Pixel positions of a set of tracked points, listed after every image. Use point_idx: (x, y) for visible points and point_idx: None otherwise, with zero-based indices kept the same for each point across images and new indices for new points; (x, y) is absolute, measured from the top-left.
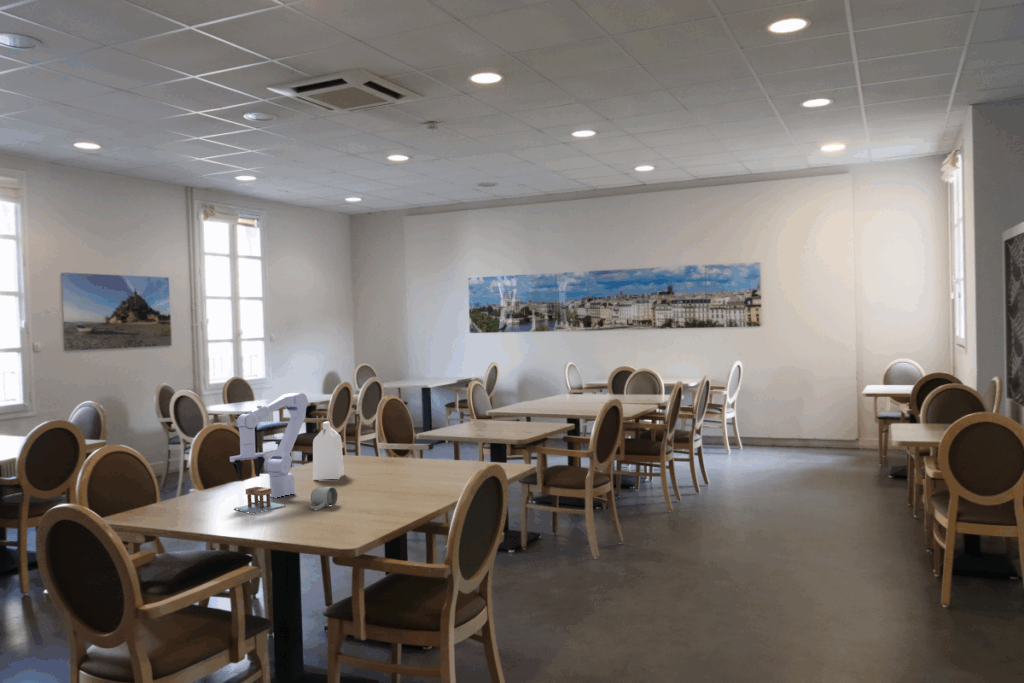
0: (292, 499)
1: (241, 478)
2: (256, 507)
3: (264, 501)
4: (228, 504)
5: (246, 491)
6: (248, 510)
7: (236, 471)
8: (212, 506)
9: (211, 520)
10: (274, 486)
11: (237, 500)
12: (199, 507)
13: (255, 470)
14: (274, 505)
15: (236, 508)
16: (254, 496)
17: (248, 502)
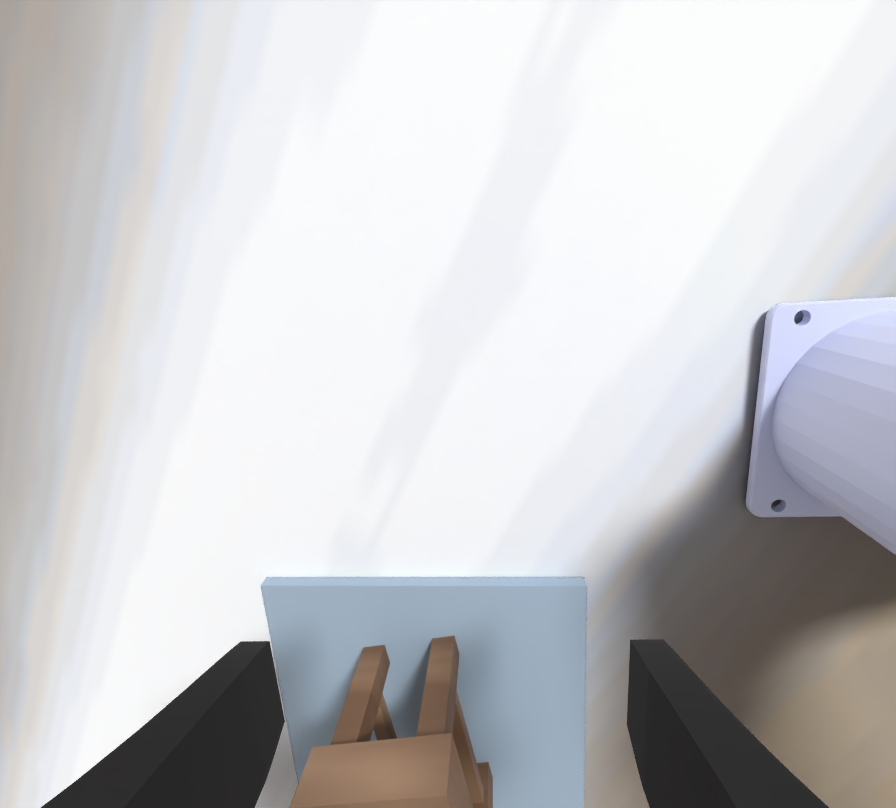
0: (802, 664)
1: (273, 735)
2: (400, 722)
3: (466, 772)
4: (306, 328)
5: (305, 790)
6: None
7: (110, 786)
8: (159, 273)
9: (51, 731)
10: (860, 517)
11: (452, 208)
12: (45, 195)
13: (685, 750)
14: (529, 778)
15: (271, 621)
16: (421, 708)
17: (355, 687)
